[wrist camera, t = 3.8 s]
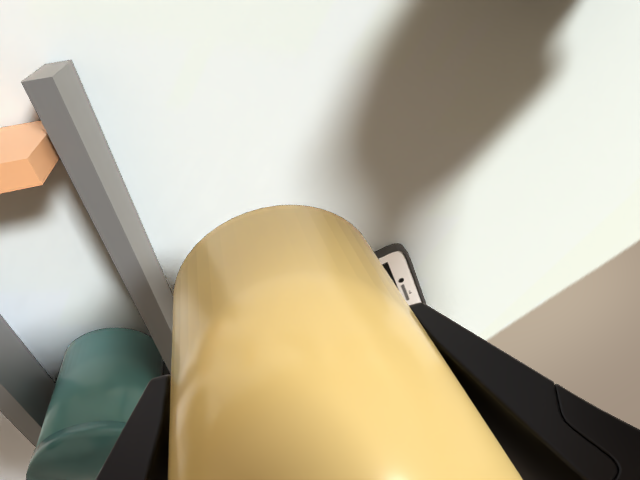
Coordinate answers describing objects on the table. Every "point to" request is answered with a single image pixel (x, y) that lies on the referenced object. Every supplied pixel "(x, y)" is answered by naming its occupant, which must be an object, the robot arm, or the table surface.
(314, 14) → the table surface
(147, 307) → the lane
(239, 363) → the ochre jar
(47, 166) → the pusher
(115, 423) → the jar
